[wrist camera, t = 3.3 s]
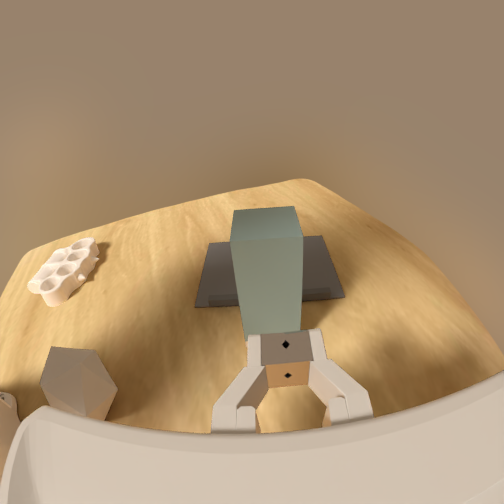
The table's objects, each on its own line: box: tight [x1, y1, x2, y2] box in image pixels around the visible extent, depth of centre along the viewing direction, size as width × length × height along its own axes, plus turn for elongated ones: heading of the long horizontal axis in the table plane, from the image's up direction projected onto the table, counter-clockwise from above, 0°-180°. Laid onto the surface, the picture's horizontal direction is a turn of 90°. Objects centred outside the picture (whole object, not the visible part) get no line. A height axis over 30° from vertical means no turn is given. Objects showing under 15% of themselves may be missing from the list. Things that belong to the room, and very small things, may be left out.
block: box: [230, 206, 303, 348], centre depth 29 cm, size 6×6×14 cm
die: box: [40, 346, 118, 421], centre depth 22 cm, size 8×9×10 cm
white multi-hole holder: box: [27, 237, 100, 307], centre depth 45 cm, size 3×18×15 cm
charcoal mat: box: [195, 236, 345, 307], centre depth 43 cm, size 20×16×1 cm
